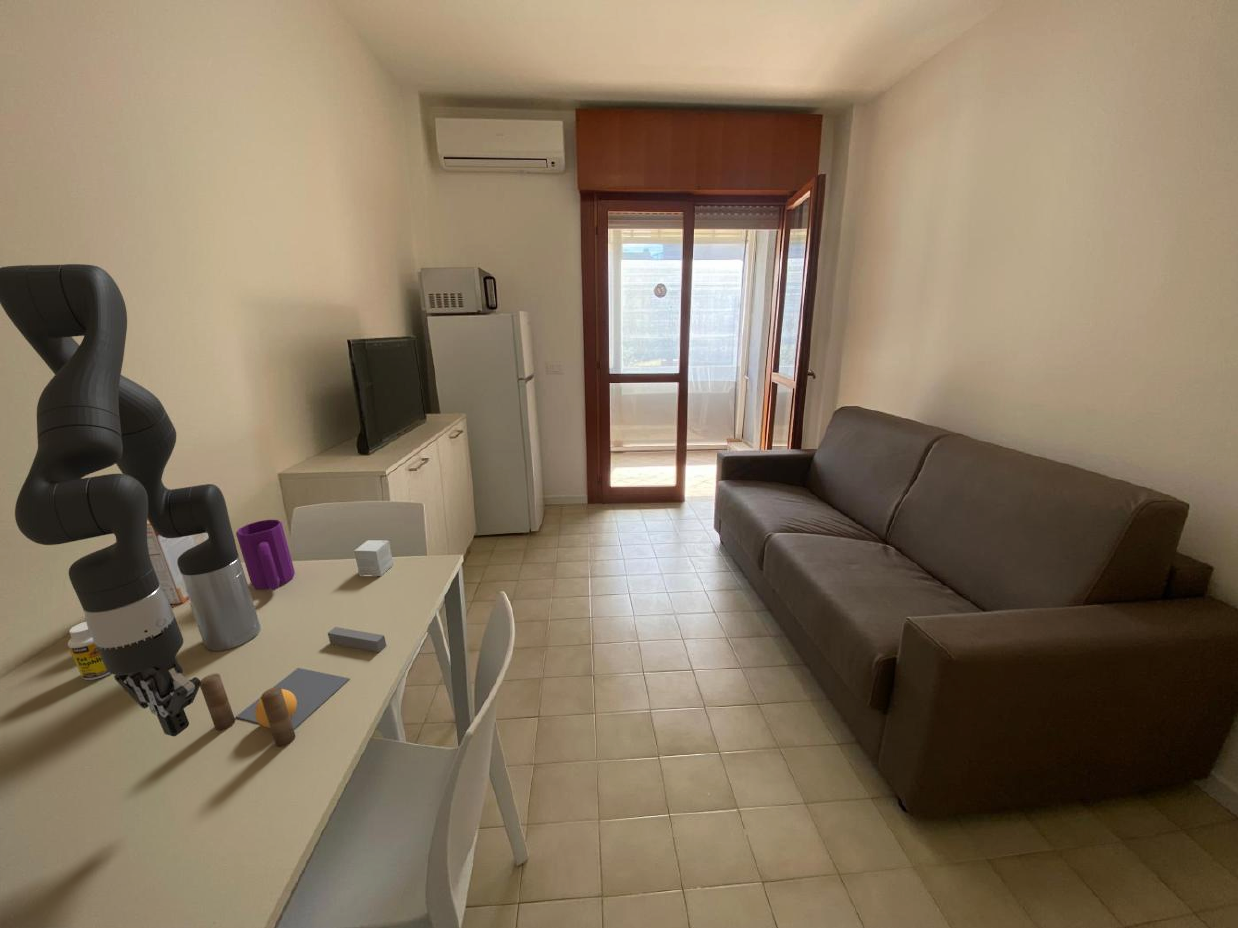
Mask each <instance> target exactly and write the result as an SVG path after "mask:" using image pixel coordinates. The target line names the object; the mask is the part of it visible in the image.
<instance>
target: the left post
mask: <svg viewBox="0 0 1238 928" xmlns="http://www.w3.org/2000/svg"><path fill="white" fill-rule="evenodd" d="M200 681H201V685H200V687H199V689H200V690H201V693H202V695H203V698H204V701H205V703H206V707H207V709H208V711H209V715H210V717H211V720H212V723H213V726H214V729H215V731H217V732H220V731H221V732H222V731H225V730H226V729H229V728H230V727H232V726H233V725H234V724H235V722H236V717H235V715H234V712H233V710H232V706H231V704H230V701H229V697H228V694H227V692H226V689H225V687H224V684H223V681H222V677H221V675H220V674H219V673H211V674H209V675H207V676H205V677H203V678H202V679H201V680H200Z"/></svg>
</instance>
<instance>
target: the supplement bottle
mask: <svg viewBox="0 0 1238 928" xmlns="http://www.w3.org/2000/svg"><path fill="white" fill-rule="evenodd" d="M68 632H69V634H70V637H71V638H70V639H69V640H68V642H67V646H68V649H69V650H70V653H71V655H72V656H71V657H72V658H73V660H74V663H75V664H76V667H77V669H78V672H79V673H80V676H81V678H82V679H83V680H85V681H95V680H99V679H102V678H104V677H107V676H109V675H112V674H111V673H109V672H108V671H107V669H106V667H105V665H104V663H103V661H102V658H101V656H100V654H99V652H98V649H97V647H96V645H95V643H94V640H93V638H92V636H91V634H90V632H89V629H88V627H87V623H86V621H83V622H81V623H78V624H75V625H74V626H72V627H71V628H70V629H69V631H68Z"/></svg>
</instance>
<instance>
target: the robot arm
mask: <svg viewBox="0 0 1238 928" xmlns="http://www.w3.org/2000/svg"><path fill="white" fill-rule="evenodd" d="M0 306H1V307H2V309H3V311H4V312H5V314H6V315H7V316H8V318H9V319H10V321H11V322H12V323H13V325H14V326H15V328H17V330H18V331H19V333H20V334H21V335H22V336H23V337H24V339H25V340H26V341H27V343H29V345H30V346H31V347H32V348H33V349H34V351H35V352H36V353H37V354H38V356H39V357H40V358H41V359H42V361H43V362H44V363H45V364H46V365H47V366H48V368H49V370H51V372H52V373H53V374H54V376H53V377H52V378H51V379H50V380H49V382H47V384H46V386H45V387H44V388H43V390H42V392H41V394H40V396H39V399H38V402H37V405H36V406H37V407H36V434H37V436H36V437H37V451H36V454H35V456H34V459H33V461H32V464H31V466H30V469H29V471H28V474H27V476H26V477H25V480H24V482H23V484H22V486H21V488H20V490H19V493H18V496H17V499H16V502H15V507H14V518H15V523H16V525H17V528H18V530H19V531H20V532H21V533H22V535H23V536H25V538H27V539H28V540H30V541H32V542H33V543H36V544H38V545H44V546H57V545H62V544H68V543H72V542H78V541H82V540H88V539H92V538H99V537H102V536H107V535H114V536H115V542H114V543H113V544H111V545H109V546H106V547H103V548H102V549H98V550H95V551H94V552H93V551H92V552H91V553H88V554H86V555H84V556H82V557H80V558H78V559H77V560H76V561H74V562H73V563H72V564H71V565H70V567H69V568H68V577H69V578H68V579H69V580H70V583H71V585H72V588H73V590H74V592H75V594H76V597H77V598H78V601H79V603H80V605H81V608H82V610H83V613H84V618H85V622H86V623H87V627H88V629H89V632H90V634H91V636H92V638H93V640H94V643H95V645H96V647H97V649H98V652H99V654H100V656H101V658H102V661H103V663H104V665H105V667H106V669H107V671H108V672H109V673H111V674H110V675H113V678H114V680H115V681H116V682H117V683H118V684H119V685H120V686H121V687H122V688H123V689H124V690H125V691H126V692H127V693H128V694H129V696H130V697H131V698H133V700H134V701H135V702H136V703H137V704H138V705H139V707H140V708H142V709H146V708H148V709H149V711H150V712H151V714H153V715H155V716H156V717H157V719H158V722H159V724H160V726H161V728H162V731H163V734H164V735H167V736H170V737H177V736H178V735H179V734H181V733H182V732H183V731H184V730H186V729H187V728H188V727H189V726H190V722H189V719H188V716H187V715H186V711H185V708H187V707H188V706H190V705H191V704H193V703H194V701H195V699H196V696H197V694H198V691H199V689H200V685H201V680H200V679H199V678H198V677H196V676H194V677H192V678H190V679H188V678H187V677H185V676H184V675H183V672H184V671H183V670H184V668H183V666H182V665H181V664H180V662H179V661H178V660H177V654H178V652H179V651H180V649H181V648H182V646H183V644H184V636H183V635H182V631H181V629H180V627H179V624H178V621H177V618H176V616H175V613H174V611H173V608H172V606H171V605H172V604H170V602H169V600H168V598H167V596H166V594H165V593H164V591H163V589H162V588H161V586H160V584H159V581H158V578H157V575H156V573H155V570H154V568H153V565H152V562H151V559H150V556H149V550H148V543H147V519H148V521H149V522H150V524H151V526H152V527H153V529H154V530H155V531H156V532H157V533H158V534H159V535H160V536H162V537H164V538H179V537H184V536H190V535H196V534H201V533H208V537H209V538H208V539H207V540H206V541H204V542H202V543H201V544H199V545H197V546H195V547H193V548H191V549H189V550H187V551H185V552H184V553H183V554H181V555H180V556H179V558H178V560H177V564H178V567H179V570H180V572H181V575H182V578H183V581H184V584H185V587H186V589H187V592H188V595H189V600H190V603H189V605H190V608H191V611H192V614H193V617H194V619H195V623H196V625H197V628H198V631H199V635H200V638H201V640H202V642H203V643H204V644H205V647H206V649H207V650H209V651H216V652H218V651H225V650H226V651H227V650H230V649H233V648H236V647H239V646H242V645H243V644H246V643H247V642H249V641H251V640H252V639H253V638H254V637H256V636H257V635H258V634H259V633H260V631H261V624H260V622H259V618H258V615H257V611H256V607H255V605H254V604H255V603H254V600H253V597H252V594H251V591H250V587H249V585H248V580H247V578H246V574H245V571H244V568H243V566H242V562H241V559H240V555H239V552H238V548H237V544H236V539H235V536H234V532H233V529H232V525H231V522H230V516H229V512H228V507H227V503H226V499H225V497H224V494H223V492H222V490H221V489H220V488H219V486H217V485H216V484H214V483H213V484H212V483H207V484H199V485H195V486H194V485H193V486H185V487H180V488H179V487H178V488H173V489H170V488H168V487H166V486H165V484H164V483H163V480H162V478H163V475H164V472H165V468H166V466H167V464H168V462H169V460H170V458H171V456H172V454H173V452H174V449H175V447H176V443H177V431H176V428H175V426H174V423H173V422H172V420H171V417H170V416H169V414H168V413H167V410H166V409H165V407H164V405H163V403H162V402H161V400H160V399H159V398H158V397H157V396H156V395H155V394H153V393H152V392H151V391H149V390H148V389H146V388H145V387H143V385H140V384H138V383H137V382H135V381H133V380H131V379H130V378H128V377H126V376H124V375H123V374H122V369H123V362H124V356H125V349H126V348H125V347H126V341H127V340H126V339H127V332H128V331H127V330H128V313H127V307H126V306H127V305H126V302H125V299H124V296H123V294H122V292H121V290H120V288H119V285H118V284H117V282H116V281H115V280H114V279H113V277H112V276H111V275H110V274H109V273H108V272H107V270H105V269H103V268H101V267H100V266H97V265H93V264H84V263H83V264H81V263H80V264H79V263H70V264H69V263H65V264H36V265H35V264H34V265H33V264H25V265H24V264H23V265H21V264H20V265H8V266H1V267H0ZM73 337H83V338H82V341H81V343H80V344H79V343H78V342H77V341H76V340H75V338H73ZM114 465H116V466H117V467H118V469H119V471H120V473H110V474H104V475H103V474H102V475H96V476H91V477H86V476H88V475H90V474H93V473H96V472H98V471H102V470H105V469H107V468H109V467H112V466H114ZM84 477H85V478H84Z"/></svg>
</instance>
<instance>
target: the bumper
mask: <svg viewBox="0 0 1238 928" xmlns="http://www.w3.org/2000/svg"><path fill="white" fill-rule="evenodd" d="M327 637H328V641H329V643H330V645H331V644H332V645H335V646H337V645H338V646H342V647H346V648H347V647H348V648H354V649H358V650H364V651H370V652H375V653H381V652H382V651H383V650H384V649H385V648H386V647H387V643H386V642H387V641H386V637H385V635H384V634H377V633H372V632H366V631H361V630H355V629H349V628H343V627H337V626H335V627H333V628H332V629H331V630H330V631H328V632H327Z"/></svg>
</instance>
